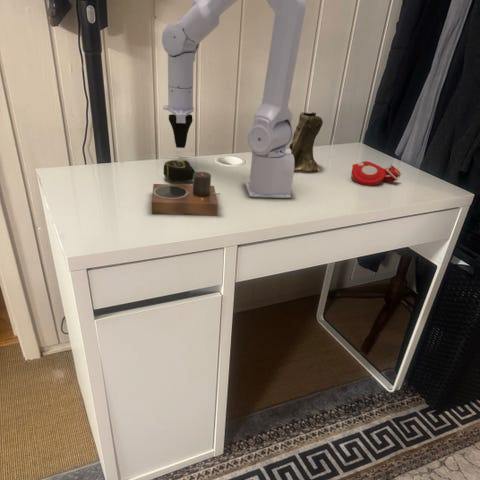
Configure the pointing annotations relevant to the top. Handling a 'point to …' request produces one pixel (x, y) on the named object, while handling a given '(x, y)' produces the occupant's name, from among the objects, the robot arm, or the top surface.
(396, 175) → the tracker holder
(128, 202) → the top surface
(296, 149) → the tree stump
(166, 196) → the heating plate
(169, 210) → the warmer
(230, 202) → the top surface
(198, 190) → the dial
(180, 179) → the tape measure
